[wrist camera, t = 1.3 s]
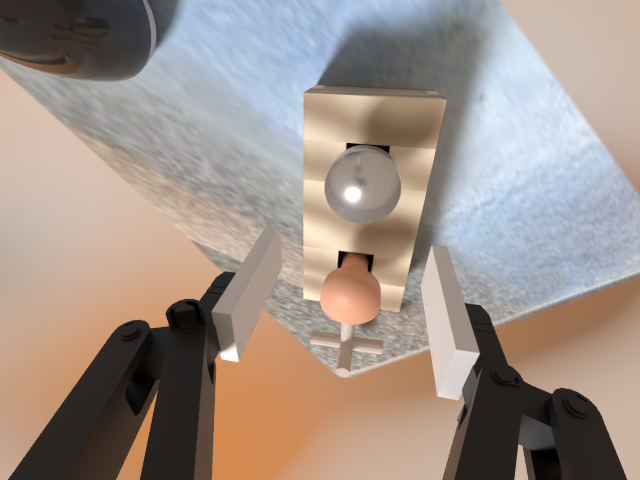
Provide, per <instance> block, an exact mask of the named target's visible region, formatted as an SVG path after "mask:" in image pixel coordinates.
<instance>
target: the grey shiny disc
mask: <svg viewBox="0 0 640 480" xmlns="http://www.w3.org/2000/svg"><path fill="white" fill-rule="evenodd" d="M324 191H325V197H326V200H327V202H328V204H329V206H330V207H331V209H332V210H333V211H334V212H335V213H336V214H337V215H338V216H340V217H341V218H343V219H344V220H347V221H349V222H352V223H357V224H368V223H373V222H377V221H379V220H381V219H383V218H385V217H386V216H388V215H389V214H390V213H391V212H392V211H393V210H394V208H395V207H396V205H397V204H398V201H399V199H400V195H401V179H400V172H399V169H398V166H397V164H396V162H395V161H394V159H393V158H392V157H391V156H390V155H389V154H388V153H387V152H385V151H384V150H382V149H380V148H378V147H375V146H370V145H359V146H354V147H351V148H349V149H347V150H345V151H343V152H342V153H341V154H339V155H338V156H337V157H336V159H335V160H334V161H333V163H332V165H331V167H330V169H329V172H328V174H327V176H326V180H325V185H324Z"/></svg>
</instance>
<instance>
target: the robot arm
mask: <svg viewBox="0 0 640 480" xmlns="http://www.w3.org/2000/svg"><path fill="white" fill-rule="evenodd" d="M281 268H282V259H281V237H280V227H272V226H266V228H265V229H264V231H263V232H262V234H261V235H260V237H259V239H258V240H257V242H256V243H255V245H254V246H253V248H252V249H251V251H250V253H249V254H248V256H247V257H246V259H245V260H244V262H243V263H242V265H241V266H240V268H239V270H238V271H237V273H234V272H226V271H225V272H223V273H222V274H220V275H219V276H218V277H216V278H215V280H214V281H213V283H212V284H211V287H209V288H208V290H207V291H206V293H205V294H204V295H203V297H202V298H201V299H200V301H198V300H195V299H184V300H180V301H178V302H176V303H174V304H172V305H171V306H170V307H169V308H168V310H167V311H166V317H167V320H168V323H169V326H167V327H160V328H150V326H149V324H148V323H147V322H145V321H142V320H133V321H130V322H127V323H124V324H123V325H121V326H119V327H118V328H117V329H116V330H115V331H114V332H113V333H112V335H111V336H110V337H109V339H108V340H107V341H106V343H105V344H104V346H103V347H102V348H101V350H100V351H99V353H98V354H97V356H96V357H95V359H94V360H93V361H92V363H91V364H90V365H89V367H88V368H87V370H86V371H85V372H84V374H83V375H82V377H81V378H80V379H79V381H78V382H77V384H76V385H75V387H74V388H73V389H72V391H71V392H70V393H69V395H68V396H67V398H66V399H65V400H64V402H63V403H62V405H61V406H60V408H59V409H58V410H57V412H56V413H55V414H54V416H53V417H52V419H51V420H50V422H49V423H48V424H47V426H46V427H45V429H44V430H43V431H42V433H41V434H40V436H39V437H38V438H37V440H36V441H35V443H34V444H33V445H32V447H31V448H30V450H29V451H28V453H27V454H26V456H25V457H24V458H23V460H22V461H21V462H20V464H19V465H18V467H17V468H16V469H15V471H14V472H13V473H12V475H11V476H10V478H9V479H8V480H116V478H117V476H118V474H119V472H120V470H121V468H122V466H123V464H124V461H125V459H126V457H127V455H128V453H129V451H130V448H131V446H132V444H133V442H134V440H135V438H136V436H137V433H138V431H139V429H140V427H141V425H142V423H143V421H144V418H145V416H146V414H147V412H148V410H149V407H150V405H151V403H152V401H153V399H154V397H155V395H156V393H157V391H158V393H157V398H156V403H155V408H154V413H153V418H152V423H151V427H150V432H149V437H148V442H147V448H146V452H145V457H144V462H143V467H142V473H141V477H140V480H212V457H213V432H214V406H215V382H216V381H215V380H216V363H215V358H216V356H217V354H218V353H219V351H220V354H221V358H222V359H224V360H230V361H236V362H239V360H240V358H241V356H242V354H243V352H244V349H245V347H246V345H247V343H248V341H249V339H250V336H251V334H252V332H253V330H254V327H255V325H256V323H257V321H258V319H259V316H260V314H261V312H262V310H263V308H264V306H265V303H266V301H267V299H268V297H269V295H270V292H271V290H272V288H273V286H274V284H275V282H276V279H277V277H278V275H279V273H280V271H281ZM421 290H422V297H423V303H424V310H425V317H426V323H427V330H428V337H429V343H430V350H431V356H432V363H433V370H434V376H435V383H436V389H437V396H438V397H443V398H448V399H454V400H459V397H460V395H461V393H462V392H463V397H464V401H465V404H464V406H463V408H462V410H461V412H460V414H459V416H458V419H457V421H458V425H457V429H456V433H455V436H454V440H453V443H452V447H451V451H450V454H449V458H448V461H447V465H446V468H445V472H444V476H443V479H442V480H514V477H515V468H516V459H517V450H518V444H520V445H522V446H523V451H524V456H525V462H526V468H527V473H528V479H529V480H627V478H626V476H625V473H624V470H623V468H622V466H621V463H620V461H619V458H618V456H617V453H616V451H615V448H614V446H613V443H612V441H611V438H610V436H609V433H608V431H607V428H606V426H605V424H604V421H603V419H602V416H601V414H600V412H599V411H598V409H597V407H596V406H595V405H594V404H593V403H592V402H591V401H590V400H589V399H587V398H586V397H584V396H583V395H581V394H580V393H578V392H576V391H573V390H571V389H565V388H560V389H556V390H555V391H554V392H553V394H551V393H548V392H546V391H544V390H541V389H538V388H536V387H534V386H531V385H530V384H528V383H526V382H524V381H523V379H522V377H521V376H520V374H519V373H518V372H517V371H516V370H515V369H514V368H513V367H511V366H509V365H508V364H507V361H506V358H505V355H504V353H503V350H502V348H501V345H500V342H499V340H498V337H497V335H496V334H495V333H496V332H495V329H494V327H493V326H492V325H493V324H492V322H491V319H490V316H489V314H488V313H487V312H486V311H485V310H484V309H483V308H482V306H481V305H475V304H467V303H464V300H463V297H462V293H461V290H460V287H459V284H458V280H457V277H456V274H455V271H454V267H453V264H452V261H451V258H450V254H449V251H448V248H447V246H438V245H431V249H430V253H429V257H428V260H427V264H426V268H425V272H424V276H423V280H422V283H421Z"/></svg>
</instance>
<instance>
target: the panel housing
mask: <svg viewBox="0 0 640 480" xmlns="http://www.w3.org/2000/svg"><path fill="white" fill-rule="evenodd" d="M446 103H447V100H446V99H445V98H444V97H442V96H441V95H440V94H439V93H438V92H437V91H422V90H403V89H384V88H365V87H346V86H327V85H315V86H314V87H312V88H310V89H309V90H307V91H306V92H304V299H310V300H317V301H320V296H321V292H322V288H323V284H324V280H325V278H326V277H327V275H328V274H329V273H331V272H332V271H333V270H335V269H338V259H339V251H347V252H355V253H363V254H372V255H374V257H373V264H372V271H371V272H370V273H371V274H372V275H374V276H375V278H376V279H377V280H378V282H379V284H380V287H381V307H380V310H387V311H394V312H399V311H400V307H401V302H402V298H403V293H404V289H405V285H406V280H407V276H408V271H409V267H410V262H411V258H412V254H413V249H414V245H415V240H416V236H417V231H418V227H419V223H420V218H421V214H422V209H423V205H424V200H425V196H426V192H427V187H428V183H429V178H430V174H431V169H432V165H433V161H434V156H435V152H436V147H437V143H438V138H439V134H440V129H441V125H442V121H443V116H444V112H445V107H446ZM347 143H358V144H371V145H384V146H390V147H389V155H390V156H391V157H392V158H393V159H394V161H395V162H396V164H397V166H398V169H399V172H400V179H401V195H400V199H399V201H398V204H397V205H396V207H395V208H394V210H393V211H392V212H391V213H390V214H389V215H388V216H386V217H385V218H383V219H381V220H379V221H377V222H373V223H368V224H357V223H352V222H349V221H347V220H344V219H343V218H341V217H340V216H338V215H337V214H336V213H335V212H334V211H333V210H332V209H331V207H330V206H329V204H328V202H327V200H326V197H325V191H324V185H325V180H326V176H327V174H328V172H329V169H330V167H331V165H332V163H333V161H334V160H335V159H336V157H337V156H338V155H339V154H341V153H342V152H343V151H345V150H347Z"/></svg>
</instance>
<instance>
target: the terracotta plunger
mask: <svg viewBox="0 0 640 480" xmlns="http://www.w3.org/2000/svg"><path fill="white" fill-rule="evenodd" d="M320 303H321V306H322V308H323V310H324V312H325V313H326V314H327V315H328V316H329V317H331V318H332V319H334V320H336V321H338V322H341V323H344V324H350V325H357V324H363V323H366V322H369V321H370V320H372V319H373V318H375V317H376V316H377V314H378V313H379V311H380V307H381V287H380V284H379V282H378V280H377V279H376V278H375V276H374V275H372V274H371V273H370V272H368V256H367V254H363V253H355V252H346V253H345V254H344V256H343V261H342V266H341V268H338V269H335V270H333V271H332V272H331V273H329V274H328V275H327V277H326V278H325V280H324V284H323V288H322V292H321V296H320Z"/></svg>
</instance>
